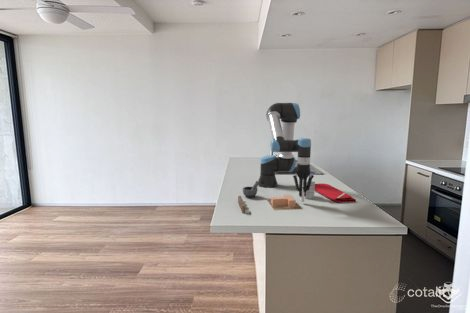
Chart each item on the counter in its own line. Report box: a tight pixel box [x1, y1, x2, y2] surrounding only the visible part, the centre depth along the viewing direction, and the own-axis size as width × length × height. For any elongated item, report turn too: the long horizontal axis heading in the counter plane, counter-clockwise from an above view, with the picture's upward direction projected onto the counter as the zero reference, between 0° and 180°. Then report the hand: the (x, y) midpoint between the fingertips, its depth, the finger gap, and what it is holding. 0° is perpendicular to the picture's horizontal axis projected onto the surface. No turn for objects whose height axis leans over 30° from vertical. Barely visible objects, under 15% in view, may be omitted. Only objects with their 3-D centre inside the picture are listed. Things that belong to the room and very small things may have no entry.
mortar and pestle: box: [242, 180, 259, 199], centre depth 194 cm, size 11×9×12 cm
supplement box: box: [302, 178, 316, 200], centre depth 194 cm, size 7×7×13 cm
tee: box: [270, 194, 297, 207], centre depth 179 cm, size 11×13×4 cm
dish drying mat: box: [314, 182, 357, 203], centre depth 207 cm, size 16×41×4 cm, turn 9°
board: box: [237, 195, 303, 214], centre depth 178 cm, size 20×36×4 cm, turn 96°
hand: (302, 201), depth 180 cm, fingers closed
